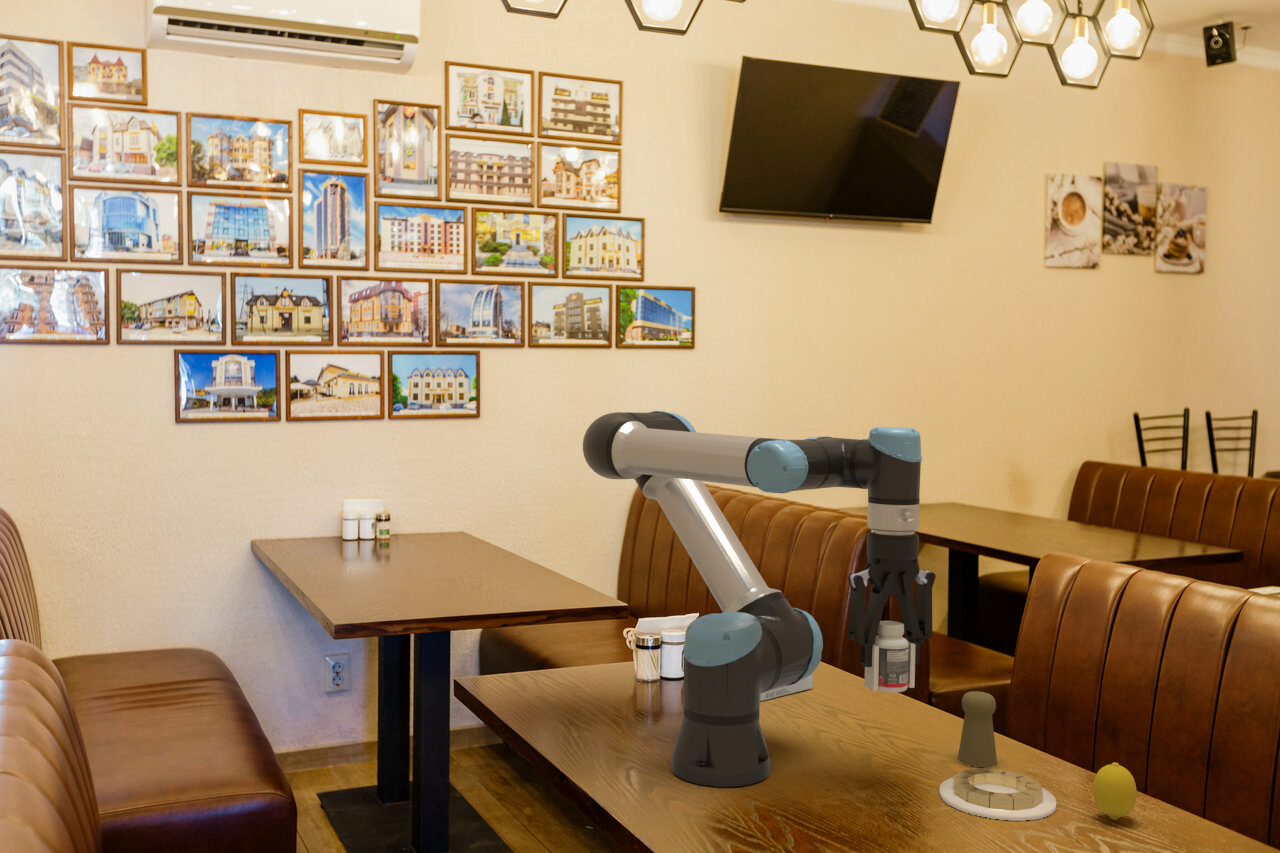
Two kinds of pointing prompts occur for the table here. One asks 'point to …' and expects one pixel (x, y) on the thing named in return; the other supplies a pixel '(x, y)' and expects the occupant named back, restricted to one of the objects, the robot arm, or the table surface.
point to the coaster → (1013, 815)
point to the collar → (1007, 801)
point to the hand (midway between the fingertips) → (889, 686)
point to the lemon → (1114, 791)
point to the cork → (978, 730)
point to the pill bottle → (892, 657)
